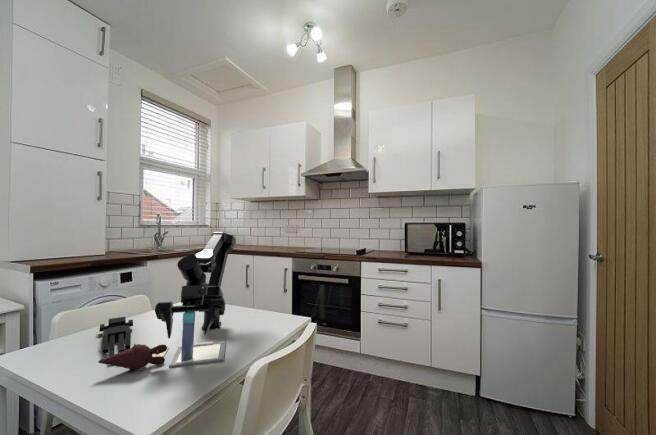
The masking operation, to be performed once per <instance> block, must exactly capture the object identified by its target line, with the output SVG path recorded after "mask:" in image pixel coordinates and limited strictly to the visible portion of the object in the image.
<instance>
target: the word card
mask: <svg viewBox="0 0 656 435" xmlns="http://www.w3.org/2000/svg"><path fill="white" fill-rule="evenodd" d="M168 350H169V347H167V350H166V351H165V352H163V353H160V354H152V356H153V357H156V356H160V357H164V358H165V355H166V354H167V353H168Z"/></svg>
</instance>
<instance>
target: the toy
mask: <svg viewBox="0 0 656 435" xmlns="http://www.w3.org/2000/svg"><path fill="white" fill-rule="evenodd" d="M126 320H127V319H126V316H120V317H113V318H108V324H107V325H106V324H105V323H102V324H100V325H99V332H100V333H101V332H102V340H101V341H102V342H101V344H102V355H105V354H108V357H109V356H112V355H115V354H116V352H115V346H116V345H115V342H116V340H118V353H120V352H122V351H125V350H128V349H130V348H131V341H132V340H131V339H132V331H131V327H133V326H134V320H133V319H128V320H127V321H128V322H127V321H126Z"/></svg>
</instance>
